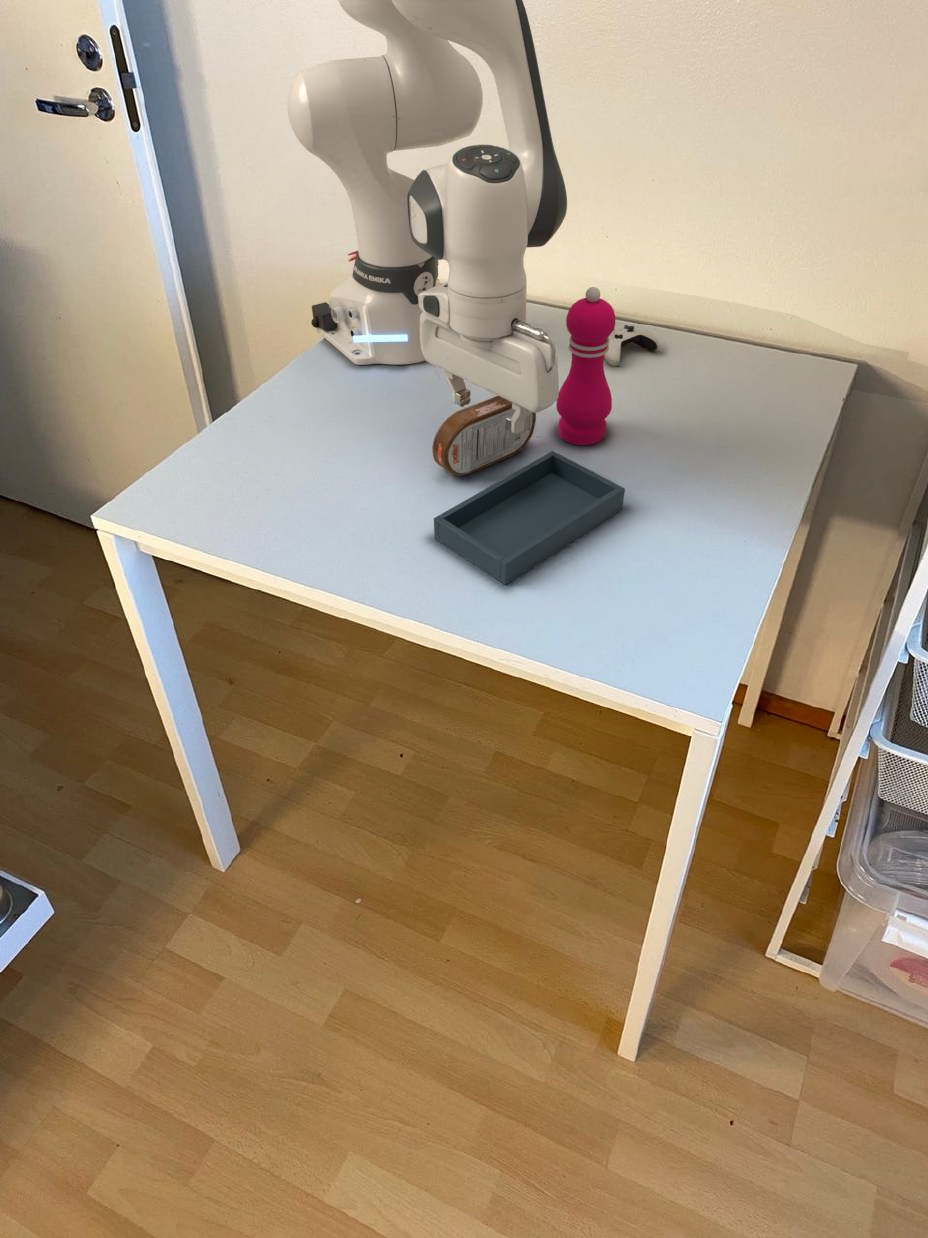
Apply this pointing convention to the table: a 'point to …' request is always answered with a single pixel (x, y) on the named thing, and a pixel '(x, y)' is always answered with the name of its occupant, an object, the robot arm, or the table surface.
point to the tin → (479, 437)
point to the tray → (528, 516)
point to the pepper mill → (586, 371)
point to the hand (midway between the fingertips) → (487, 416)
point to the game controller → (625, 336)
